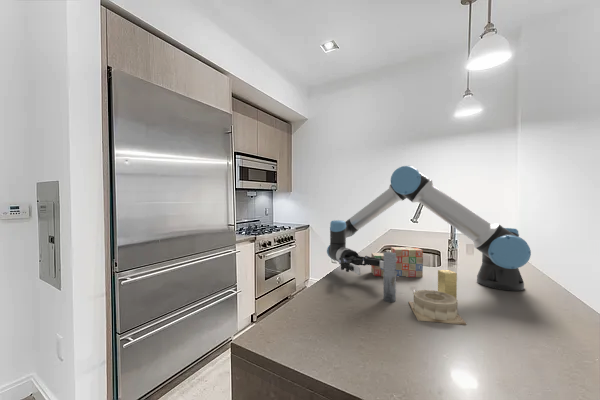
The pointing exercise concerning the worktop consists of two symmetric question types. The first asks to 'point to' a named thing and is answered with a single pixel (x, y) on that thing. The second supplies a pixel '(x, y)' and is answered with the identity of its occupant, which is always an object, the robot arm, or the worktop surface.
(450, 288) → the square bit
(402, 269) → the stack of blocks
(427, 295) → the socket block
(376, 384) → the worktop surface
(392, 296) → the cylinder
